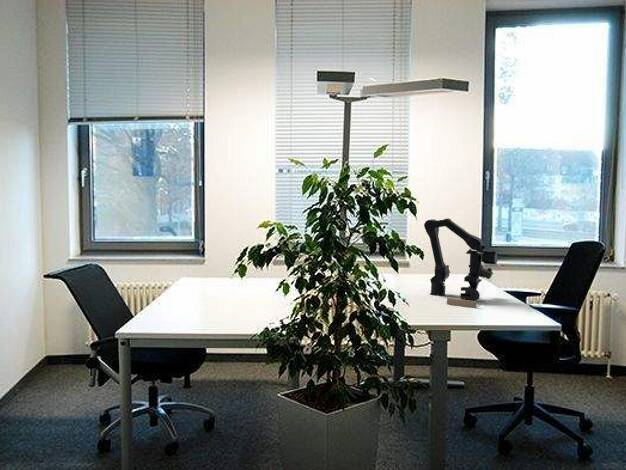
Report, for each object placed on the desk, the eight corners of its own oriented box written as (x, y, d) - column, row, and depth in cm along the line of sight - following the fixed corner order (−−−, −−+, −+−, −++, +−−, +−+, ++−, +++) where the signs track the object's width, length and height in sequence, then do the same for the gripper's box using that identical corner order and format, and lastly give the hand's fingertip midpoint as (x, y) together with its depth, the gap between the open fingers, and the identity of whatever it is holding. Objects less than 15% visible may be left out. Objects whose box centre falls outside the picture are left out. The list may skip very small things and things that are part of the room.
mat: (446, 304, 313) (447, 298, 312) (456, 299, 326) (456, 293, 326) (475, 308, 306) (475, 301, 306) (483, 302, 319) (484, 296, 319)
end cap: (479, 303, 317) (480, 289, 316) (465, 302, 317) (465, 289, 316) (473, 299, 327) (474, 285, 326) (459, 298, 327) (460, 285, 326)
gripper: (487, 266, 315) (485, 298, 316) (495, 262, 331) (494, 292, 333) (464, 264, 320) (463, 296, 322) (474, 260, 336) (473, 289, 338)
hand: (474, 293), depth 328 cm, fingers closed
